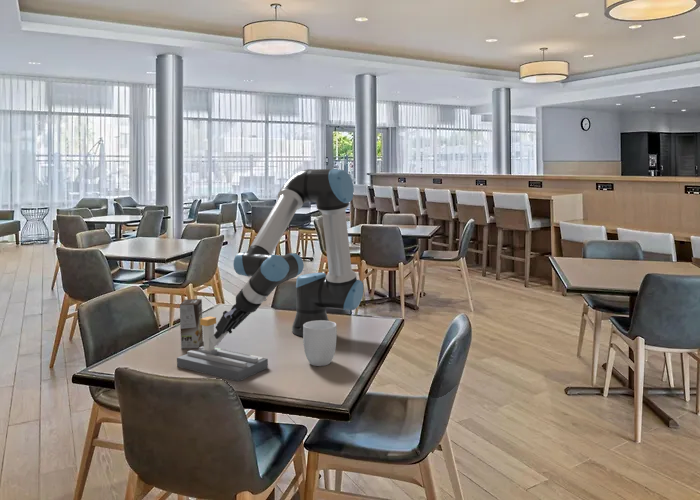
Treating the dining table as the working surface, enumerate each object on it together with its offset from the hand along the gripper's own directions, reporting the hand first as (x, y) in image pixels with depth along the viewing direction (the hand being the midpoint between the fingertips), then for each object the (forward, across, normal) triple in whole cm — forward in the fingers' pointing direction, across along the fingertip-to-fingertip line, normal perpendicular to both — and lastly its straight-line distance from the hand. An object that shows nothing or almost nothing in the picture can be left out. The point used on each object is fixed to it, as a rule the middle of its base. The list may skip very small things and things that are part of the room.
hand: (213, 342), depth 182 cm
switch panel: (+4, 0, -8) cm, 9 cm away
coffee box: (+22, +14, +11) cm, 28 cm away
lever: (+5, +1, -1) cm, 5 cm away
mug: (-13, +20, -25) cm, 35 cm away
